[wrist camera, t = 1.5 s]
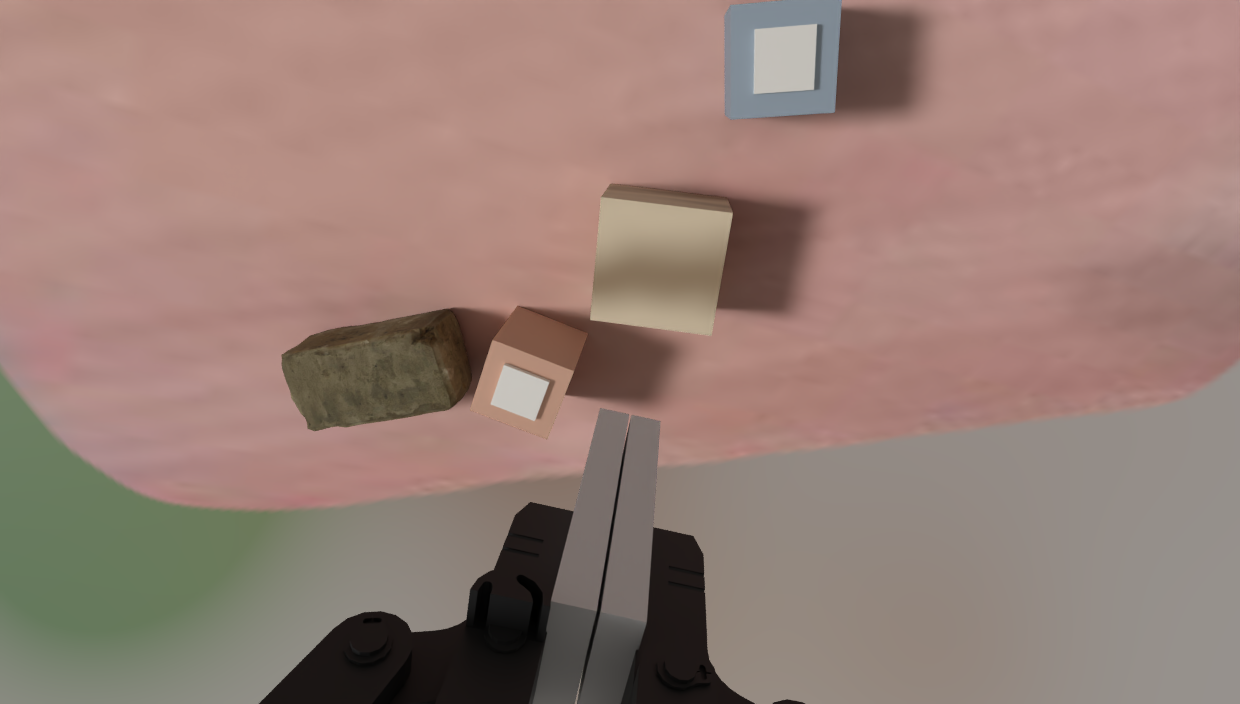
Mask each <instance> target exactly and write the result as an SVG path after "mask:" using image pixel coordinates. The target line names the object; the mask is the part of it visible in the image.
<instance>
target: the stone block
mask: <svg viewBox="0 0 1240 704" xmlns="http://www.w3.org/2000/svg"><path fill="white" fill-rule="evenodd" d="M282 370H283V373H284V376H285V379H286V382H287V384H288V386H289V389H290V392H291V398H292V400H293V401H294V403H295V404H296V406H297V408H298V409H299V411H300V413H301V414H302V415H303V416H304V417H305V419H306V421H307V427H308V429H310V430H313V431H318V430H322V429H326V428H330V427H335V426H339V427H350V426H355V425H360V424H366V423H374V422H381V421H387V420H394V419H400V418H406V417H412V416H417V415H422V414H426V413H431V412H438V411H445V410H449V409H451V408H452V407H453V406H454V405H456V403H457V402H458V401H460V400H461V399H462V398H463V396H464V395H465V393H466V392H467V391H468V389H469V386H470V383H471V380H472V374H471V369H470V365H469V361H468V357H467V353H466V349H465V345H464V341H463V337H462V334H461V331H460V327H459V324H458V322H457V319H456V317H455V316H454V314H453V313H452V312H450V311H449V310H448V309H443V310H438V311H432V312H427V313H423V314H418V315H412V316H407V317H402V318H396V319H391V320H386V321H383V322H379V323H370V324H365V325H360V326H351V327H341V328H336V329H331V330H327V331H324V332H321V333H317V334H314V335H311V336H309V337H308V338H307V339H305V340H304V341H303V342H301V343H300V344H299V345H298V346H296V347H294V348H292V349H290V350H288V351H287V352H285V353H284V354H282Z"/></svg>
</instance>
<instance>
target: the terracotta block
mask: <svg viewBox="0 0 1240 704" xmlns="http://www.w3.org/2000/svg"><path fill="white" fill-rule="evenodd" d="M587 336H588V333H586V332H583V331H581V330H578V329H576V328H573V327H570V326H568V325H565V324H563V323H560V322H558V321H555V320H553V319H550V318H547V317H545V316H542V315H540V314H537V313H535V312H532V311H530V310H527V309H525V308H522V307H519V306H517V307H516V309H515V310H514V311H513V313H512V314H511V315H510V317H509V318H508V319H507V321H506V322H505V323H504V325H503V326H502V328H501V329H500V330H499V332H498V333H497V334H496V336H495V337H494V338H493V340H492V343H491V346H490V349H489V352H488V355H487V358H486V361H485V364H484V367H483V371H482V374H481V377H480V380H479V383H478V386H477V389H476V392H475V395H474V398H473V401H472V405H471V408H470V411H473V412H475V413H478V414H481V415H483V416H486V417H489V418H491V419H494V420H497V421H499V422H502V423H505V424H507V425H510V426H512V427H515V428H518V429H520V430H523V431H526V432H528V433H531V434H534V435H536V436H539V437H542V438H544V439H548V436H549V434H550V431H551V429H552V426H553V424H554V421H555V419H556V416H557V413H558V411H559V408H560V406H561V403H562V401H563V398H564V396H565V393H566V391H567V388H568V386H569V383H570V380H571V378H572V375H573V373H574V370H575V368H576V365H577V362H578V360H579V357H580V354H581V352H582V349H583V346H584V344H585V341H586V338H587Z"/></svg>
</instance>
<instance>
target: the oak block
mask: <svg viewBox="0 0 1240 704" xmlns="http://www.w3.org/2000/svg"><path fill="white" fill-rule="evenodd" d="M732 216H733V212H732V209H731V207H730V204H729V201H728V199H727V198H726V197H717V196H709V195H701V194H693V193H684V192H676V191H668V190H660V189H651V188H643V187H635V186H626V185H618V184H610V185H609V187H608V188H607V190H606V191H605V192H604V194H603V195H602V197H601V204H600V215H599V226H598V237H597V248H596V259H595V271H594V282H593V293H592V304H591V315H590V320H594V321H602V322H610V323H617V324H625V325H633V326H640V327H648V328H656V329H663V330H671V331H679V332H686V333H694V334H702V335H709V336H711V335H712V330H713V324H714V318H715V312H716V307H717V301H718V295H719V290H720V284H721V278H722V273H723V267H724V261H725V256H726V250H727V244H728V238H729V233H730V227H731V221H732Z"/></svg>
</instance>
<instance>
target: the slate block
mask: <svg viewBox="0 0 1240 704" xmlns="http://www.w3.org/2000/svg"><path fill="white" fill-rule="evenodd" d="M841 3H842V0H783V1H771V2H760V3H748V4H737V5H730V7H729V9H728V10H727V12H726V14H725V115H726V116H727V117H728V118H729V119H746V118H761V117H776V116H791V115H806V114H820V113H835V102H836V85H837V69H838V52H839V36H840V19H841Z"/></svg>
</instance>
